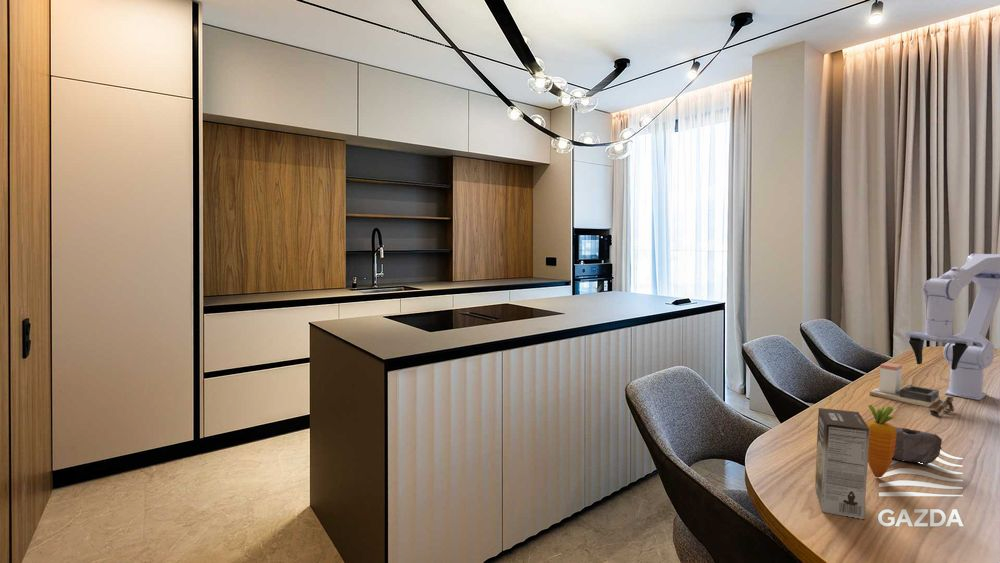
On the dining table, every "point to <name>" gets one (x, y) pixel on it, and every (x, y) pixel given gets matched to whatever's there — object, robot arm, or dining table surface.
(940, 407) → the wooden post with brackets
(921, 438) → the perforated stone tool
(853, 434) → the coffee box
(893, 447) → the carrot
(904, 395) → the board
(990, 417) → the dining table surface
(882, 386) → the plug
